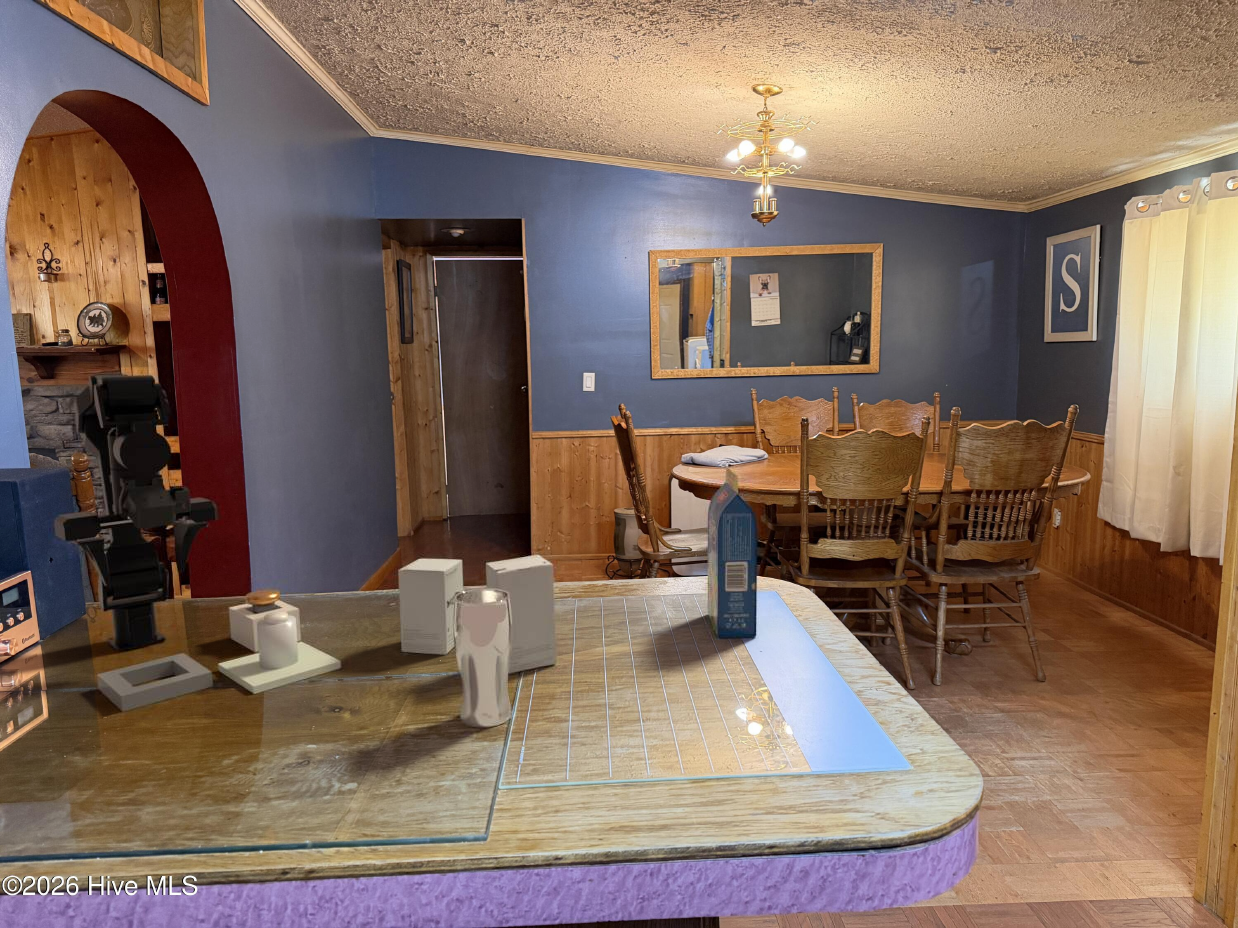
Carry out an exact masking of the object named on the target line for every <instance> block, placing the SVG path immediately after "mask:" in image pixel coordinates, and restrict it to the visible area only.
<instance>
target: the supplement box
mask: <svg viewBox="0 0 1238 928" xmlns="http://www.w3.org/2000/svg"><path fill="white" fill-rule="evenodd" d="M397 572H398V573H397V575H398V593H399V596H398V597H399V616H400V618H399V620H400V622H399V623H400V641H401V645H400V646H401V652H403V653H414V654H415V653H417V654H427V655H428V654H429V655H431V654H432V655H447V654H448V653H449V652H451V650H452V649H453V648H455V646H454V635H453V613H454V596H455V595H456V594H458V593H460V592H463V591H464V579H463V577H464V575H463V560H462V559H453V558H452V559H450V558H449V559H448V558H419V559H416V560H414V561H413V562H411V563H409V564H407V565H405V566H403V567H402V568H400V569H398V571H397Z"/></svg>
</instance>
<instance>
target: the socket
mask: <svg viewBox="0 0 1238 928" xmlns="http://www.w3.org/2000/svg"><path fill="white" fill-rule="evenodd" d="M212 673H213V672H212V671H211V670H209V669H208V668H207V667H205V666H203V665H202V664H200V663H199V662H197V661H196V660H194V658H191V657H190V656H189V655H187V654H185V653H183V652H182V653H177V654H174V655H170V656H166V657H162V658H157V659H154V660H150V661H147V662H142V663H138V664H134V665H130V666H126V667H122V668H117V669H114V670H110V671H109V670H108V671H107V672H101V673H98V674H96V677H97V687H98V688H97V689H98V690H99V691H100V692H101V693H102V694H103V695H104V696H105V697H106V698H107V699H109V701H111V702H112V703H113V704H114V705H115V706H116V707H117V708H118V709H119V710H120V711H122V712H127V711H131V710H134V709H138V708H141V707H145V706H149V705H153V704H156V703H159V702H162V701H166V700H170V699H174V698H176V697H180V696H184V695H187V694H190V693H191V694H192V693H194V692H198V691H202V690H204V689H205V690H206V689H207V688H208V689H209V688H212V687H214V686H213V685H214V683H213V682H214V681H213V674H212ZM173 675H175V676H173ZM169 676H172V677H169ZM164 677H168V678H165V679H164ZM161 678H163V679H161ZM157 679H160V680H157ZM154 680H156V681H154ZM150 681H152V682H150ZM145 682H149V683H146V684H142V683H145ZM138 684H141V685H138ZM135 685H138V686H135Z"/></svg>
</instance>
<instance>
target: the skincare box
mask: <svg viewBox="0 0 1238 928" xmlns="http://www.w3.org/2000/svg"><path fill="white" fill-rule="evenodd" d="M485 575H486V577H485V578H486V588H496V589H502V590H505V591H507V592H509V593H510V602H511V610H512V622H513V642H512V652H511V659H510V666H509V673H508V675H509V674H513V673H518V672H522V671H528V670H531V669H535V668H536V669H537V668H542V667H546V666H551V665H556V664H557V663H558V662H557V659H558V658H557V640H556V637H557V636H556V615H555V614H556V613H555V589H554V588H555V587H554V563H551V561H549V560H547V559H545V558H544V557H542V556H541V555H539V554H534V555H528V556H523V557H517V558H511V559H503V560H499V561H497V560H496V561H491V562H486V563H485Z"/></svg>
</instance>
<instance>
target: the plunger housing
mask: <svg viewBox="0 0 1238 928" xmlns="http://www.w3.org/2000/svg"><path fill="white" fill-rule="evenodd" d="M274 612H286V613H288V615H290V616H294V617H295V618H296V629H297V642H301V641H302V637H301V636H302V635H301V633H302V632H301V621H300V620H301V619H300V609H299V608H298V607H295V606H294V605H291V604H289V603H286V602H284V601H282V600H280V599H279V600H278V601H276V602H275V610H272V611H267V612H263V613H259V614H254V613H253V611H252V605H250V604H247V603H244V604H243V603H242V604H239V605H235V606H234V605H233V606H230V607H228V613H229V614H228V615H229V626H230V627H229V628H230V629H229V630H230V639H231V640H233V641H234V642H236V643H238V644H240V645H241V646H243V647H245V648H247V649H248V650H251V651H252V652H254V653H259V648H258V634H257V622H258V621H259V620H261V619H263V618H264V616H265V615H267V614H269V613H274Z"/></svg>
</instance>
